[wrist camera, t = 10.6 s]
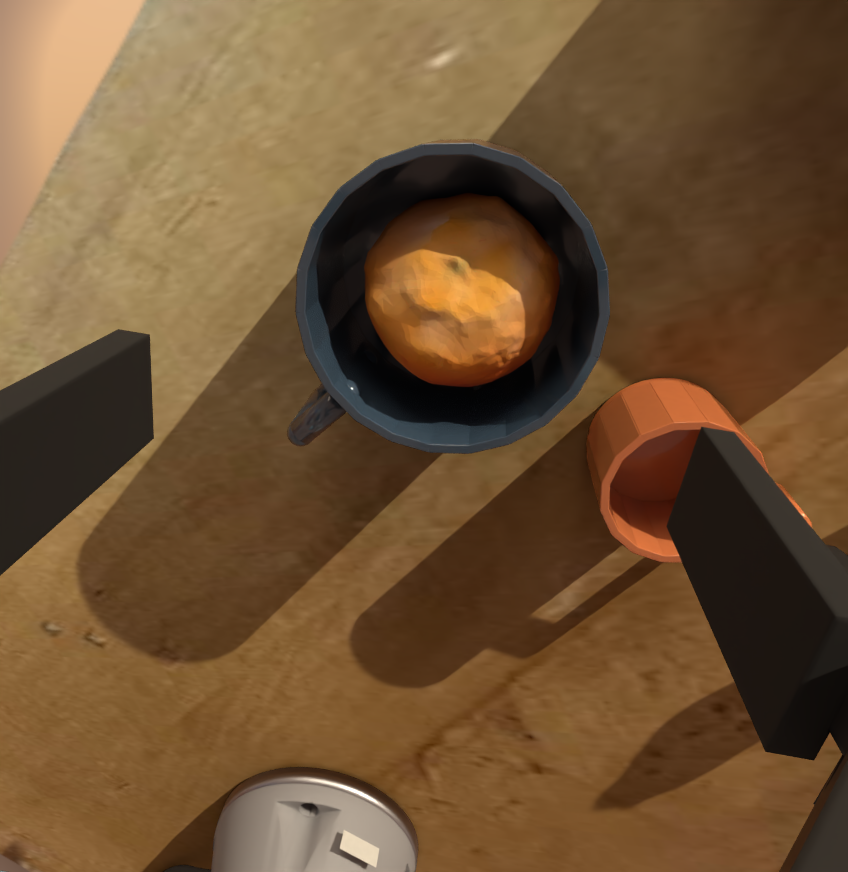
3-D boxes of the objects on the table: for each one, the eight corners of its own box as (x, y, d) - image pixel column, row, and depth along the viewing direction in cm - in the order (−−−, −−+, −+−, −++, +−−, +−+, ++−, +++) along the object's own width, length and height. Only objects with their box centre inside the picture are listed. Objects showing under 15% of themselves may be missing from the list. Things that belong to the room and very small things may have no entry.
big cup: (473, 75, 28) (465, 59, 21) (636, 287, 31) (674, 332, 24) (241, 307, 34) (176, 353, 27) (399, 469, 37) (377, 546, 30)
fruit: (370, 394, 33) (341, 358, 25) (388, 240, 33) (367, 158, 25) (533, 411, 32) (558, 380, 24) (548, 255, 33) (577, 176, 25)
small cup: (564, 477, 36) (575, 533, 31) (622, 357, 33) (644, 399, 28) (738, 536, 36) (776, 601, 31) (812, 424, 33) (867, 476, 28)
